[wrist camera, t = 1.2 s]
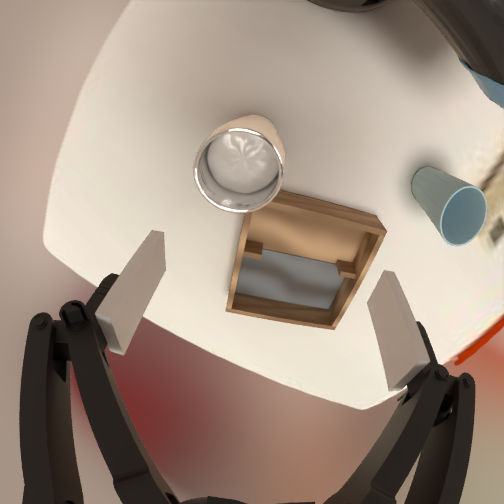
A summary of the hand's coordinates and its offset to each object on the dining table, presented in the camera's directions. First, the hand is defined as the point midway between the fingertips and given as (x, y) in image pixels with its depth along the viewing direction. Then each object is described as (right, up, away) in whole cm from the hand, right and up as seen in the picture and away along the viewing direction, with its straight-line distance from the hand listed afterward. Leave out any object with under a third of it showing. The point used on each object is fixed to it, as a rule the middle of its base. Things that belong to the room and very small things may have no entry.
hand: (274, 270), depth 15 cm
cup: (+23, +11, +16) cm, 31 cm away
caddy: (+6, 0, +25) cm, 25 cm away
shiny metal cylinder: (-1, +15, +16) cm, 22 cm away
